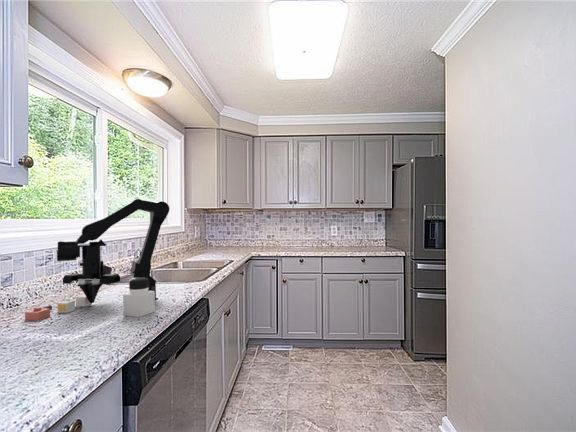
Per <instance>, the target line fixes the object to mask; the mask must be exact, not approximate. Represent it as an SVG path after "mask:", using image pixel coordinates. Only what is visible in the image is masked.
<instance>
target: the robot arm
mask: <svg viewBox="0 0 576 432" xmlns="http://www.w3.org/2000/svg"><path fill="white" fill-rule="evenodd" d="M170 209H171V208H170V205H169V204H168V203H167V202H165V201H156V202H154V201H148V200H145V199H144V200H143V199H140V198H136V199H133V200H132V201H131V202H129V203H127V204H126V205H124V206H123V207H121V208H119V209H118V210H116V211H114V212H113V213H111V214H108V215H107V216H106V217H104V218H102V219H99V220H96V221H93V222H91V223H90V222H89V223H88V224H85V225H84V226H83V227H82V229H81V234H80V235H79V236H78V238H77V239H76V240H75V241H74V240H73V241H61V240H60V241H57V250H56V261H57V262H69V261H77V258H80V257H81V259H82V261H81V262H80V263H79V266H80V267H82V269H81V270H82V271H81V272H82V273H75V272H74V273H70V274H65V275H64V276H63V278H62V284H63V285H64V284H65V285H66V284H67V285H68V284H69V285H70V284H72V283H73V282H78V284H76V286H77V287H79V288H80V290H81V291H82V292H83V293H84V294H83V295H86V297H87V299H88V300H89V302H90V303H92V304H93V303H95V301H96V298H97V295H98V293H99V290H100V288H101V287H102V286H103V285H113V284H116V283H120V282H121V276H120V274H119V273H112V270H113V267H111V266H108V265H104V260H101V247H106V246H107V243H106V242H104V241H103V239H101V238H100V237H101V236H102V235H103V234H104V233H106V232H107V231H108V230H109V229H110V228H111V227H112V226H115V225H116V224H117V223H119V222H121V221H123V220H124V219H125V218H127V217H128V216H130V215H132V214H133V213H136V212H137V211H143V212H147V213H149V225H148V229H147V232H146V235H145V239H144V242H143V245H142V249H141V251H140V255H139V258H138V259H137V261H132V263H131V266H132V267H131V268H130V270H129V272H130V276H131V279H133V278H140V277H144V278H148V280H149V289H148V291H154V292H155V302H156V301H158V300H159V297H157V293H156V292H157V280H156V279H155V278H153V277H152V276H151V270H152V258H153V254H154V251H155V248H156V244H157V241H158V237H159V233H160V231H161V227H162V224H163V223H164V221H165V220H166V219H167V216H168V214H169V212H170ZM99 238H100V239H99ZM97 239H99V240H98V241H96V240H97ZM87 242H89V243H88V244H86V243H87Z"/></svg>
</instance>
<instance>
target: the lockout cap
mask: <svg viewBox="0 0 576 432" xmlns="http://www.w3.org/2000/svg"><path fill="white" fill-rule="evenodd" d="M50 317H51V310H50V309H47V308H43V307H41V306H37V307H33V309H31V310H28V311H25V312H24V321H35V322H36V321H37V322H38V321H41V320H44V319H46V318H50Z"/></svg>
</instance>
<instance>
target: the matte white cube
mask: <svg viewBox="0 0 576 432" xmlns="http://www.w3.org/2000/svg"><path fill="white" fill-rule="evenodd" d="M56 307H57V308H56V309H57V313H59V314H60V313H61V314H62V313H63V314H68V313H70V312H73V311H76V308H75V307H76V300H71V299H65V300H63V301H62V300H61V301H59V302H57V305H56Z"/></svg>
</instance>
